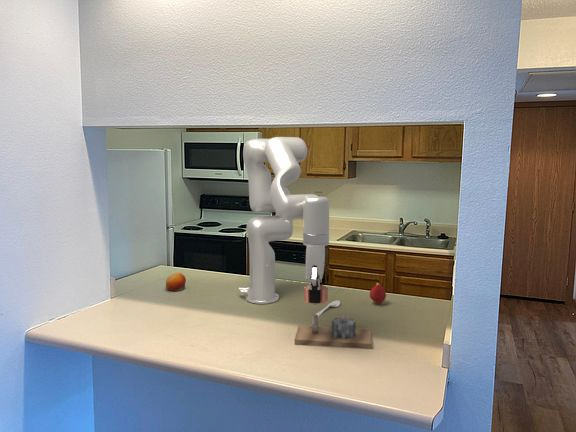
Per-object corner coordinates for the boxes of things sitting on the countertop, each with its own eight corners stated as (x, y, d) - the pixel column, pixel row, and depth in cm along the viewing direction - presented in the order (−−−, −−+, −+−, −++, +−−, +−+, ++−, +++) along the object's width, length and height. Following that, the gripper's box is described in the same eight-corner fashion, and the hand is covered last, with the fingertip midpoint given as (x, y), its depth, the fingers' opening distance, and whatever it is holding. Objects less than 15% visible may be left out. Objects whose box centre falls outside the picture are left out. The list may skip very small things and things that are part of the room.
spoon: (343, 305, 166) (343, 301, 166) (314, 322, 149) (314, 317, 149) (333, 303, 168) (333, 299, 168) (303, 319, 151) (303, 315, 151)
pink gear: (303, 304, 130) (303, 290, 130) (305, 296, 137) (305, 284, 137) (327, 304, 129) (327, 291, 129) (328, 297, 136) (328, 284, 136)
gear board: (294, 344, 131) (294, 319, 130) (298, 329, 141) (298, 306, 140) (371, 348, 128) (372, 323, 127) (370, 333, 138) (370, 310, 137)
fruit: (188, 289, 179) (177, 272, 178) (171, 299, 180) (160, 282, 179) (192, 283, 187) (182, 267, 186) (176, 292, 188) (166, 276, 187)
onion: (384, 301, 168) (385, 281, 167) (386, 307, 163) (387, 285, 162) (368, 301, 169) (369, 280, 168) (370, 306, 163) (370, 285, 162)
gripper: (306, 234, 140) (306, 290, 142) (300, 244, 123) (300, 307, 125) (330, 234, 139) (329, 290, 141) (327, 244, 122) (327, 308, 124)
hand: (315, 298), depth 133 cm, fingers closed on pink gear, 6 cm apart
